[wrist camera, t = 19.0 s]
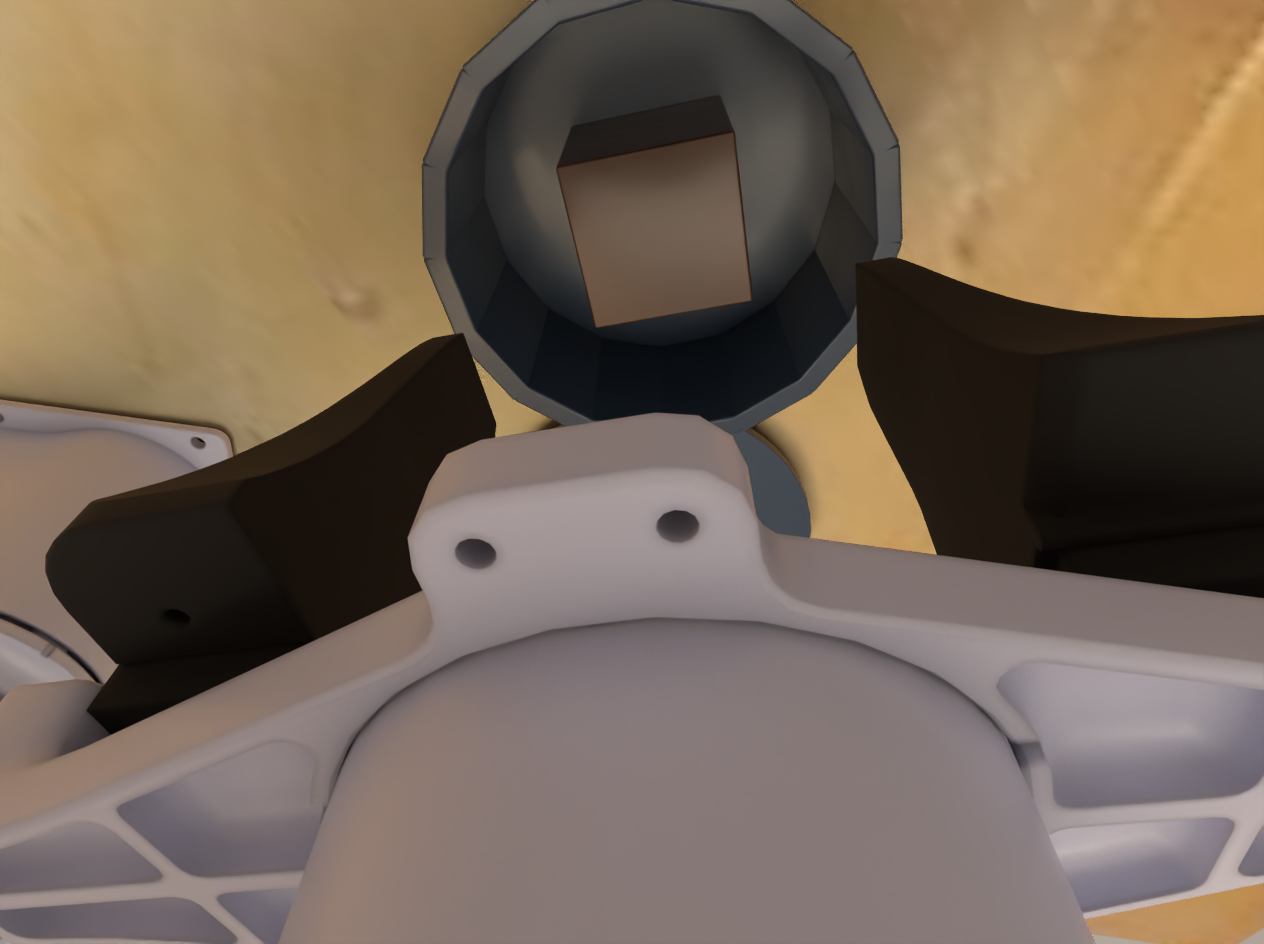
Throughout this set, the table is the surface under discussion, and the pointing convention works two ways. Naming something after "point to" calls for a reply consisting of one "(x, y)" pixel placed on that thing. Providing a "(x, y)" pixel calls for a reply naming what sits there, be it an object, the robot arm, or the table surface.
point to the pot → (771, 193)
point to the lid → (773, 486)
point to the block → (657, 212)
